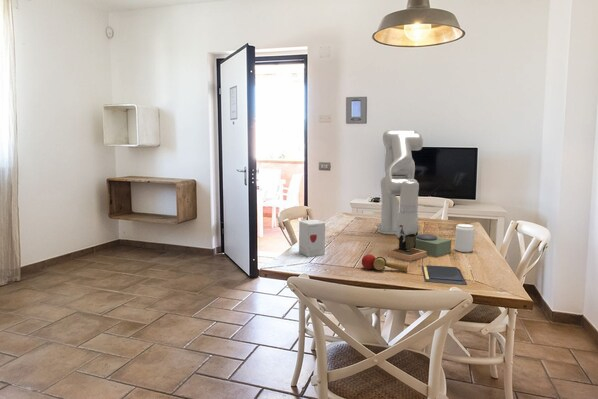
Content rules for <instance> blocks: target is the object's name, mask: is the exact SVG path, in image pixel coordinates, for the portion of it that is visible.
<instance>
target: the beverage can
mask: <svg viewBox="0 0 598 399" xmlns="http://www.w3.org/2000/svg"><path fill="white" fill-rule="evenodd" d="M454 238H455V239H454V250H456V251H457V252H460V253H471V252H473V251H474V243H475V242H474V241H475V228H474V225H472V224H467V223H459V224H456V227H455V235H454Z"/></svg>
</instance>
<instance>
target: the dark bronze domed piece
mask: <svg viewBox="0 0 598 399" xmlns="http://www.w3.org/2000/svg"><path fill="white" fill-rule="evenodd" d="M403 234H404V233H403ZM416 236H417V235H416V234H415V236H414V235H413V234H411V236H410V235H407V236H406V239H405V242H406V250H405V251H404V252H411V249H412V248H413V247H414V246H415V242H416ZM403 237H404V236H402V238H403Z"/></svg>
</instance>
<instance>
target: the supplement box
mask: <svg viewBox="0 0 598 399" xmlns="http://www.w3.org/2000/svg"><path fill="white" fill-rule="evenodd" d="M298 224H299V225H298V226H299V228H298V229H299V230H298V252H299V254H301V255H304V256H306V257H307V258H311V257H318V256H324V255H325V253H326V251H325V249H326V246H325V245H326V222H324V221H321V220H318V219H306V220H299V222H298Z"/></svg>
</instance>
